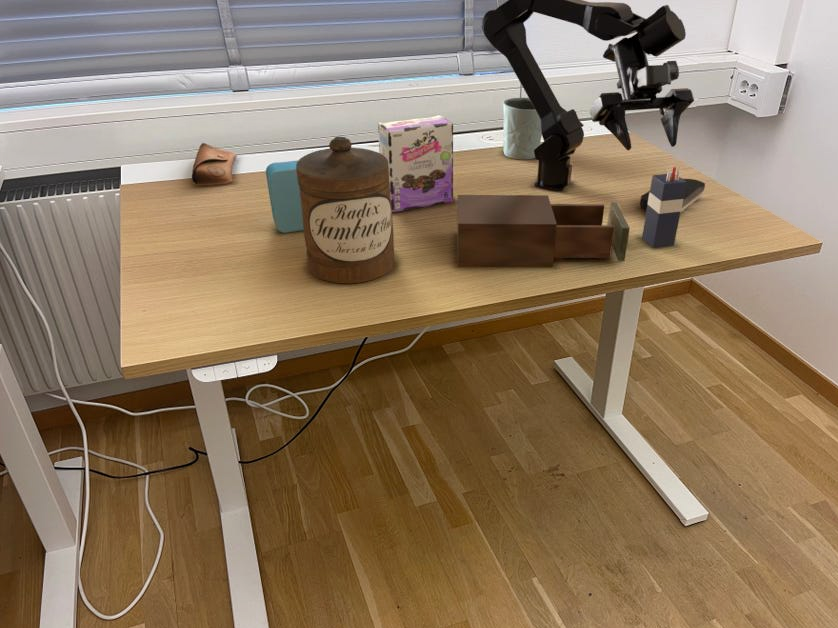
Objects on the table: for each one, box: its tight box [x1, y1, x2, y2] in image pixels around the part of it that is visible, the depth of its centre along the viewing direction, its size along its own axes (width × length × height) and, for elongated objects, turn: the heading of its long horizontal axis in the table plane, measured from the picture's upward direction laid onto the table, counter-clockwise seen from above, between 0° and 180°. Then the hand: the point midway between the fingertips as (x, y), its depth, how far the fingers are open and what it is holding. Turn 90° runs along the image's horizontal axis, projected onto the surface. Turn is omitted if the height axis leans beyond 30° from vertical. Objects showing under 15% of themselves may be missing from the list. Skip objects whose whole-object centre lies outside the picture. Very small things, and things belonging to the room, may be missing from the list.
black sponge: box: [639, 177, 706, 213], centre depth 145 cm, size 16×8×4 cm, turn 143°
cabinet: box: [456, 194, 557, 268], centre depth 125 cm, size 17×13×8 cm
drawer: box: [550, 201, 631, 262], centre depth 126 cm, size 17×11×6 cm
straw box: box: [641, 166, 687, 249], centre depth 128 cm, size 4×4×15 cm
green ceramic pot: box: [502, 97, 543, 160], centre depth 167 cm, size 10×10×12 cm
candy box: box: [377, 115, 454, 213], centre depth 140 cm, size 14×6×16 cm, turn 118°
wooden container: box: [296, 136, 395, 284], centre depth 116 cm, size 15×15×22 cm
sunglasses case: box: [191, 142, 238, 187], centre depth 156 cm, size 18×7×7 cm
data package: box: [265, 160, 304, 234], centre depth 131 cm, size 12×4×12 cm, turn 112°
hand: (651, 147), depth 129 cm, fingers open, 9 cm apart
